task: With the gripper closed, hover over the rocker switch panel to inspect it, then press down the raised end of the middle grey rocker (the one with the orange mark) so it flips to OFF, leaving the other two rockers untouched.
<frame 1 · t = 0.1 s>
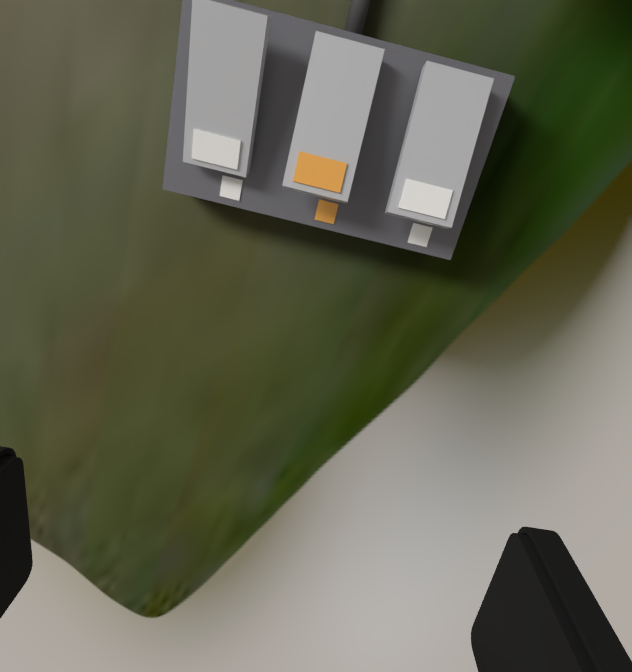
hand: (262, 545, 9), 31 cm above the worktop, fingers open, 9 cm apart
rocker 3: (437, 148, 30), point 6 cm above the worktop, hinge at -12.0°
rocker switch panel: (329, 136, 35), on the worktop
rocker 1: (223, 93, 29), point 6 cm above the worktop, hinge at 12.0°
rocker 2: (331, 121, 29), point 6 cm above the worktop, hinge at -12.0°
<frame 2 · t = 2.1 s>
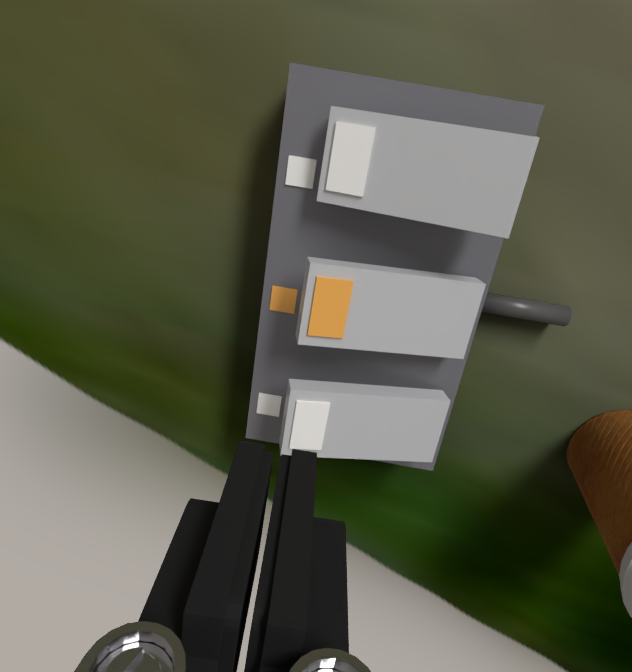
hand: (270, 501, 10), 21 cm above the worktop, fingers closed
disposable coffee cup: (612, 447, 33), on the worktop
rocker 3: (363, 422, 27), point 6 cm above the worktop, hinge at -12.0°
rocker switch panel: (369, 278, 30), on the worktop
rocker 1: (420, 171, 22), point 6 cm above the worktop, hinge at 12.0°
rocker 2: (389, 310, 24), point 6 cm above the worktop, hinge at -12.0°
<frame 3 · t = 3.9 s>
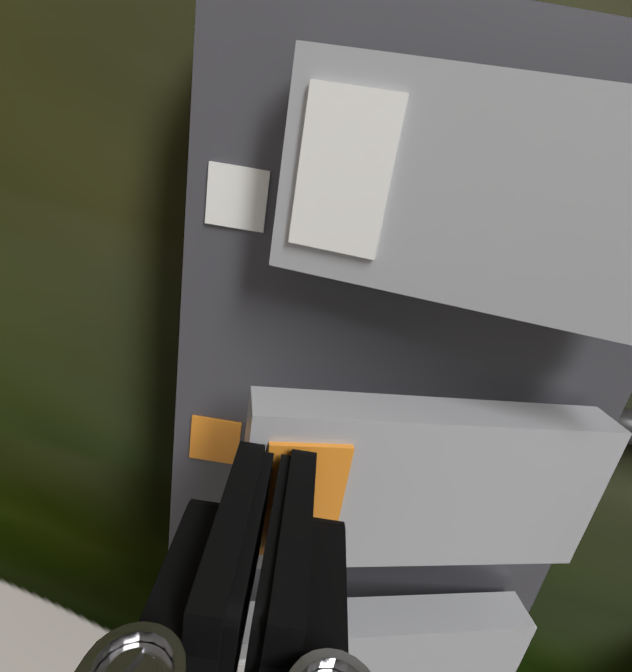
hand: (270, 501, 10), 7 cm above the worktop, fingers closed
rocker 3: (371, 665, 14), point 6 cm above the worktop, hinge at -12.0°
rocker switch panel: (376, 373, 17), on the worktop
rocker 1: (512, 202, 9), point 6 cm above the worktop, hinge at 12.0°
rocker 2: (427, 485, 12), point 6 cm above the worktop, hinge at -11.7°, touching gripper
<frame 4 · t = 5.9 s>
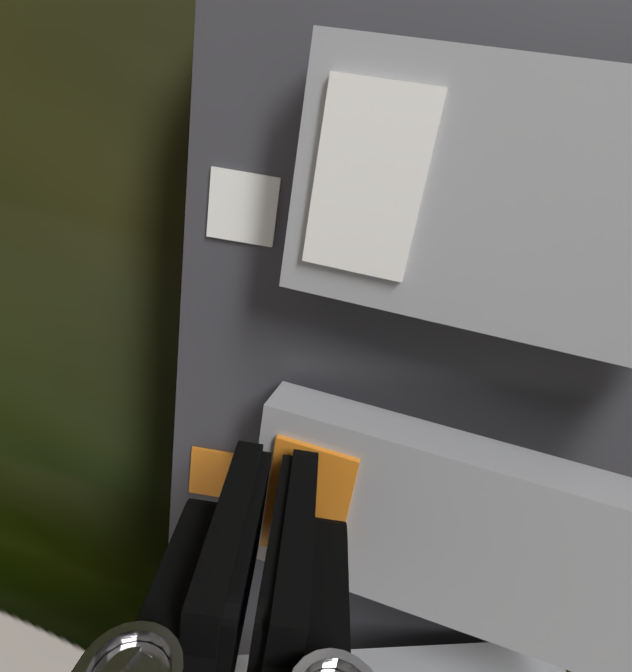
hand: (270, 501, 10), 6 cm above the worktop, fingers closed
rocker switch panel: (392, 394, 16), on the worktop
rocker 1: (565, 215, 8), point 6 cm above the worktop, hinge at 12.0°
rocker 2: (454, 532, 10), point 6 cm above the worktop, hinge at 12.5°, touching gripper
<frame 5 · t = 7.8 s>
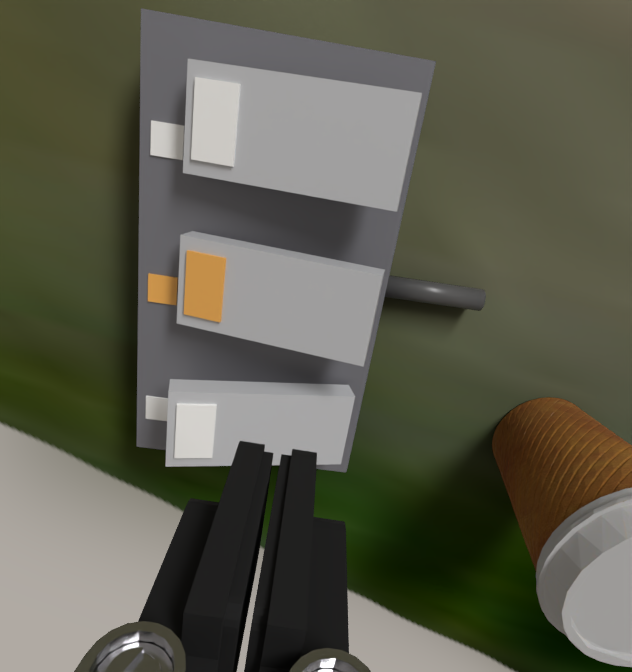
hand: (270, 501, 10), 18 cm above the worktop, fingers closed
disposable coffee cup: (538, 436, 31), on the worktop
rocker 3: (260, 424, 24), point 6 cm above the worktop, hinge at -12.0°
rocker switch panel: (270, 264, 27), on the worktop
rocker 1: (296, 136, 19), point 6 cm above the worktop, hinge at 12.0°
rocker 2: (276, 298, 21), point 6 cm above the worktop, hinge at 12.6°
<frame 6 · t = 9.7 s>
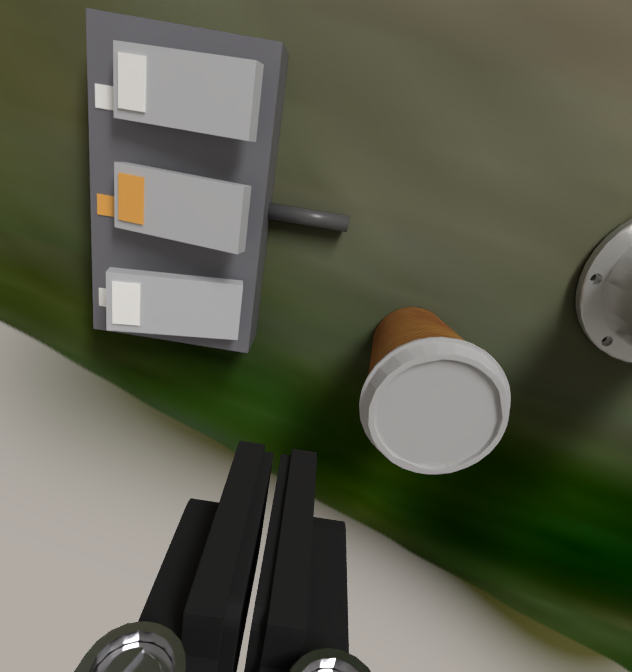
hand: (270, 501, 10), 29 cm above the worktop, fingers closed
disposable coffee cup: (409, 341, 40), on the worktop
rocker 3: (176, 305, 33), point 6 cm above the worktop, hinge at -12.0°
rocker switch panel: (193, 196, 36), on the worktop
rocker 1: (185, 91, 28), point 6 cm above the worktop, hinge at 12.0°
rocker 2: (180, 207, 31), point 6 cm above the worktop, hinge at 12.6°
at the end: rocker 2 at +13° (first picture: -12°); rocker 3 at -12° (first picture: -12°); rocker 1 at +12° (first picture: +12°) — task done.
